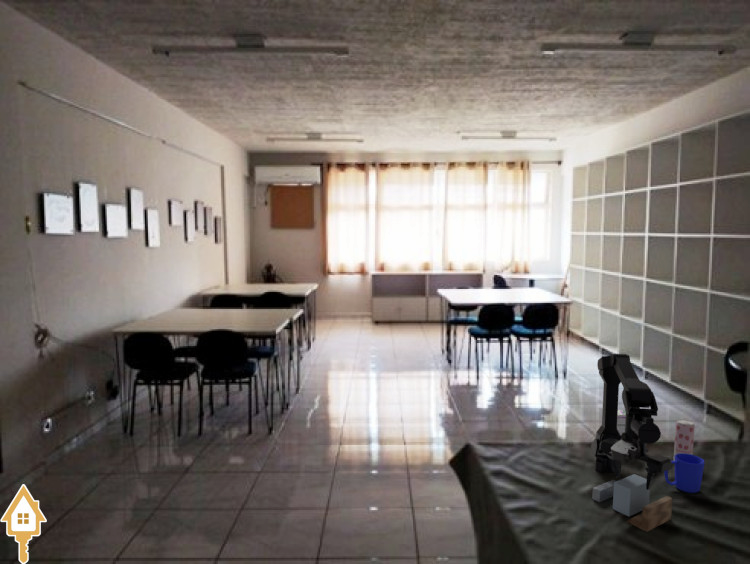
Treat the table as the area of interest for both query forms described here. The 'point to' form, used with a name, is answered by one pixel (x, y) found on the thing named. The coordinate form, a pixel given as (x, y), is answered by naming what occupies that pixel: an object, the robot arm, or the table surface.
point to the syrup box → (621, 421)
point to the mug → (687, 472)
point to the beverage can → (684, 437)
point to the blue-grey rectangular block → (630, 495)
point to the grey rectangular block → (603, 491)
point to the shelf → (653, 514)
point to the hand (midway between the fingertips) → (632, 483)
